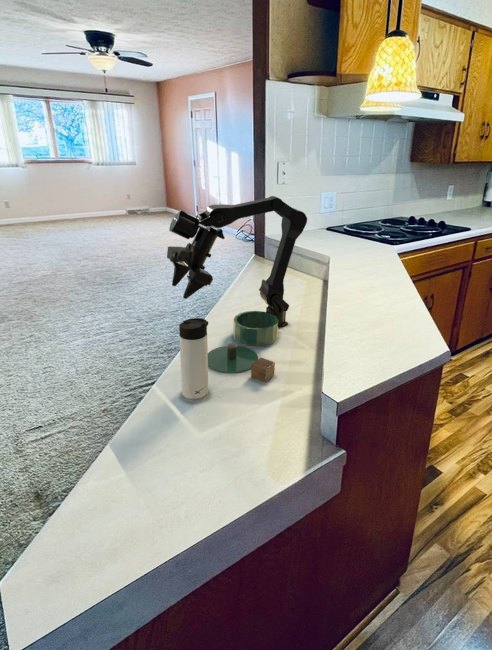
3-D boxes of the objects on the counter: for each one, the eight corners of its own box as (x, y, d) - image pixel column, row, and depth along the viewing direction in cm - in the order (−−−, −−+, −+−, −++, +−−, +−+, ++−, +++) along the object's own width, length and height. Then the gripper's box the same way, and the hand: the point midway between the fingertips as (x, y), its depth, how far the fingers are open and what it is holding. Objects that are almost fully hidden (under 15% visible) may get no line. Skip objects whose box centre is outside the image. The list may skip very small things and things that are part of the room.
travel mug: (203, 404, 97) (201, 328, 89) (177, 400, 98) (173, 324, 90) (213, 390, 102) (212, 317, 95) (188, 386, 104) (185, 313, 96)
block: (260, 371, 112) (260, 357, 110) (274, 376, 110) (275, 362, 108) (250, 378, 108) (251, 364, 107) (265, 384, 106) (265, 369, 104)
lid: (239, 344, 126) (239, 329, 124) (268, 364, 116) (269, 348, 114) (195, 357, 117) (195, 341, 115) (223, 381, 107) (223, 364, 105)
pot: (260, 325, 139) (260, 307, 137) (286, 340, 130) (287, 322, 127) (225, 335, 131) (225, 316, 129) (250, 352, 121) (250, 333, 119)
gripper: (166, 226, 122) (144, 272, 124) (190, 246, 108) (165, 297, 111) (197, 239, 129) (176, 282, 132) (224, 260, 116) (199, 308, 118)
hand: (178, 291), depth 123 cm, fingers open, 9 cm apart
